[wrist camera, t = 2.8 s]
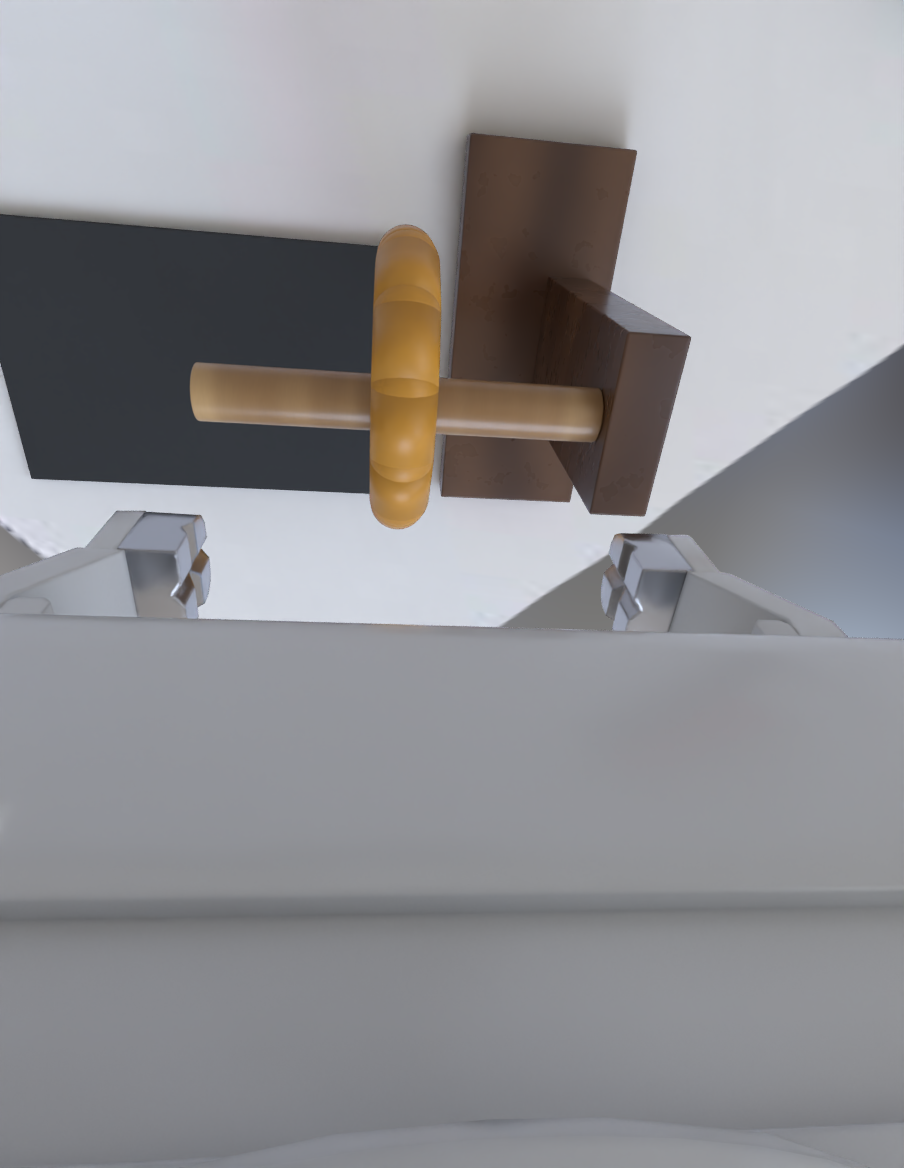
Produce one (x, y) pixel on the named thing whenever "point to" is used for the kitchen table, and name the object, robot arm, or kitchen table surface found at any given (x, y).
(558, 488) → the rack
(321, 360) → the mat
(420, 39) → the kitchen table surface
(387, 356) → the ring
